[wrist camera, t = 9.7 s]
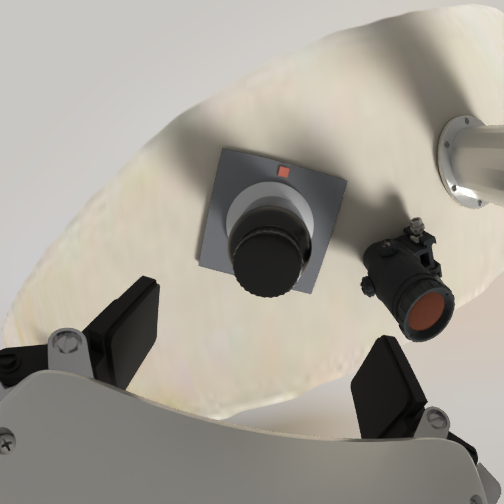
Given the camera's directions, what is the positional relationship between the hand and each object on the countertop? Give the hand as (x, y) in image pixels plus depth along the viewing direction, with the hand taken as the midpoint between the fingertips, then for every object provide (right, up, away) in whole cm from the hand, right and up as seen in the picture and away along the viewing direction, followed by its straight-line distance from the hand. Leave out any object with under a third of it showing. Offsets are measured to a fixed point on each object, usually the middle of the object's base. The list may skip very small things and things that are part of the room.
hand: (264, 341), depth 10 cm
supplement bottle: (+2, +6, +19) cm, 20 cm away
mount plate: (+2, +7, +20) cm, 22 cm away
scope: (+16, +3, +21) cm, 26 cm away
